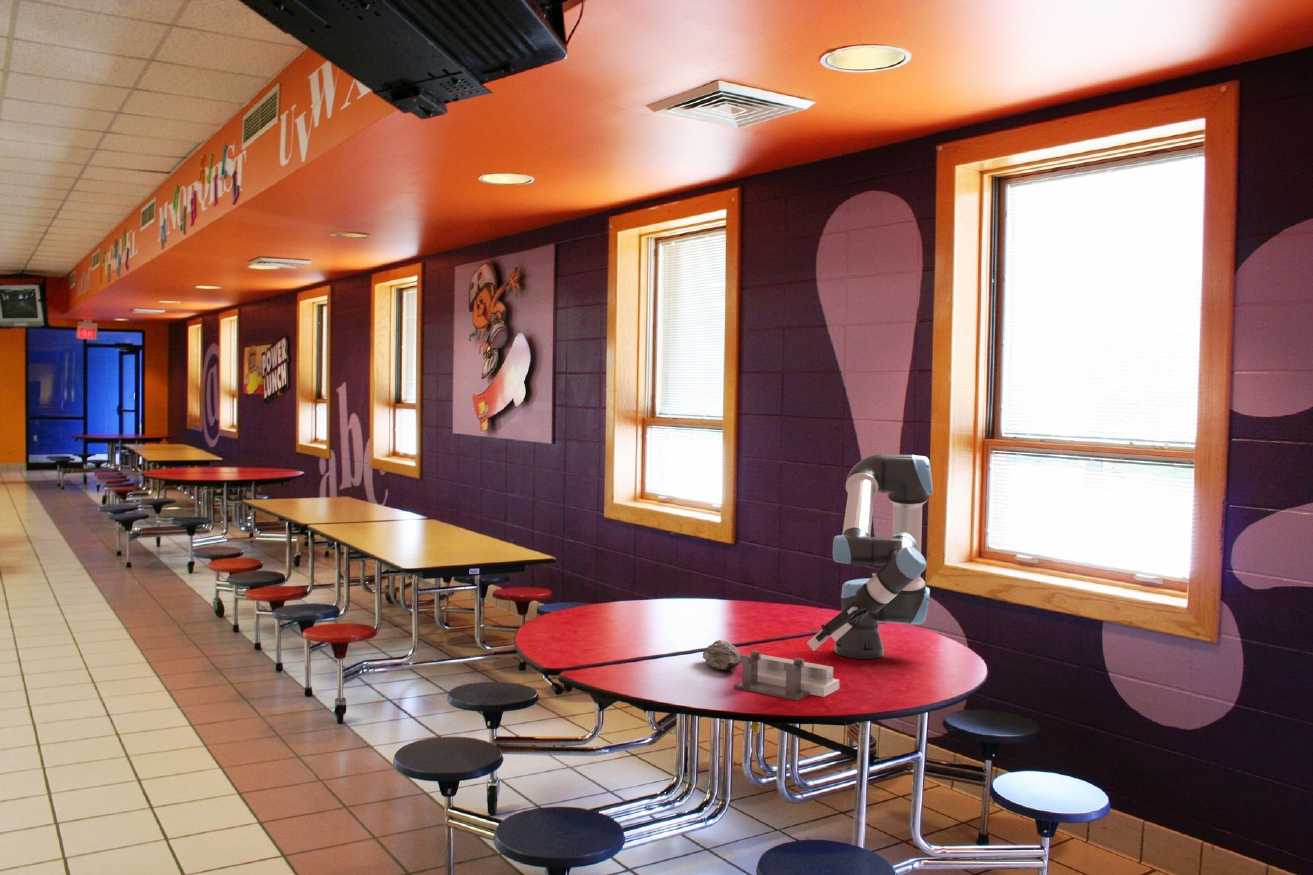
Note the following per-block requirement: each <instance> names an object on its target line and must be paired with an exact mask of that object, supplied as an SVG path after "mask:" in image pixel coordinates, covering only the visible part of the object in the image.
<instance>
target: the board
mask: <svg viewBox="0 0 1313 875" xmlns="http://www.w3.org/2000/svg"><path fill="white" fill-rule="evenodd" d="M757 682H761V683H766V684H771V685H776V686H782V687H786V677H782V676H777V675H771V674H766V673H760V672H758V681H757ZM839 689H840V679H839V678H838V679H837V678H833V682H831V683H829V684H827V685H825V684H820V683H814V682H809V681H803V680H801V690H803V691H808V692H809V695H813V696H817V697H822V698H824V697H826V696H828V695H830V694H833V693H834V692H836V691H837V690H839Z"/></svg>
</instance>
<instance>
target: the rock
mask: <svg viewBox="0 0 1313 875" xmlns="http://www.w3.org/2000/svg"><path fill="white" fill-rule="evenodd" d="M740 655H741V654H740V651H739V650H738V648H737V647H736V646H735V645H733V644H732V643H731V642H730V641H727V640H724V639H719V640H715V641H714V642H713V643H712V644H709V645H708V646H707V647H706V648H705V650H703V653H702V658H703V659H704V660H705V663H706V664H707V665H709V666H711V667H713V668H714V669H716V670H726V671H728V672H729V671H730V672H731V671H733V670H735V668H736V667H737V666H739V665H740V664H741V663H740Z"/></svg>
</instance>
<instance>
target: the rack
mask: <svg viewBox="0 0 1313 875" xmlns="http://www.w3.org/2000/svg"><path fill="white" fill-rule="evenodd" d="M761 653H762V652H761V651H758V650H751V651H750V655H748V654H747V655H746V654H740V664H742V676H741V677H742V681H740V682H738V683H735V684H734V685H733V689H738V690H742V691H745V692H746V691H747V692H753V693H757V694H761V695H762V694H763V695H767V696H771V697H776V698H781V699H786V700H792V701H796V702H797V701H800V700H802V699H804V698H805V697H808V696H809V695H810V694H809V692H808V691H803V690H801V668H802V667H804V662H805V659H804V658H798V657H794V658H793V660H794V663H787V662H785V663H784V671H786V687H782V686H776V685H771V684H766V683H761V682H757V681H758V660H760V659H761Z"/></svg>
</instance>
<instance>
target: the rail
mask: <svg viewBox="0 0 1313 875" xmlns="http://www.w3.org/2000/svg"><path fill="white" fill-rule="evenodd" d="M785 662H787V663H794V659H791V658H790V659H789V658H784V657H778V656H773V655H768V654H767V655H765V654H761V659H760V660H758V672H760V673H766V674H771V675H777V676H782V677H786V671H784V663H785ZM833 679H834V666H829V665H826V664H825V665H824V664H819V663H813V662H812V663H811V662H808V661H804V667H802V668H801V680H803V681H809V682H814V683H820V684H825V685H827V684H829V683H831V682H833Z"/></svg>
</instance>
